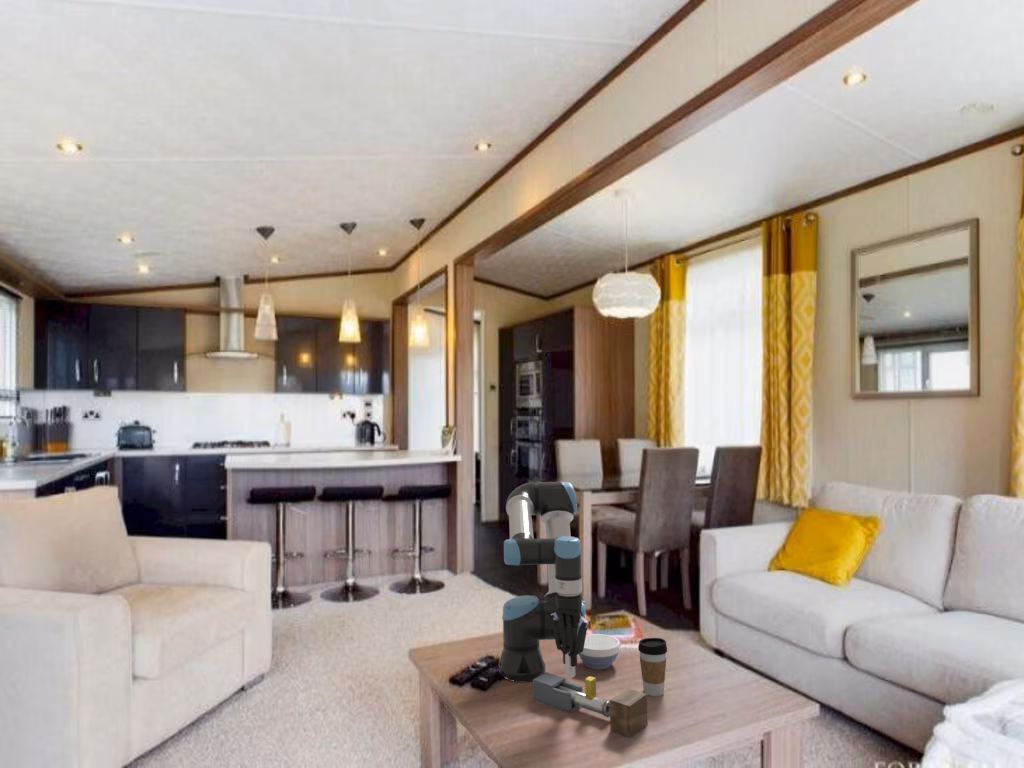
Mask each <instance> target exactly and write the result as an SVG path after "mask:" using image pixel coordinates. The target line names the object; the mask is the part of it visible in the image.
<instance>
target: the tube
mask: <svg viewBox="0 0 1024 768" xmlns="http://www.w3.org/2000/svg"><path fill="white" fill-rule="evenodd" d="M554 688H557V689H560V690H563V691H566V692H569V693H571V704H573V705H576V706H579V707H578V708H582V709H585V710H588V711H590V712H594V713H597V714H599V715H602V716H604V717H606V718H610V700H605V699H602V698H599V697H597V678H596V677H594V676H590V675H589V676H587V677H586V678H584V688H585V689H584V693H581V692H578V691H575V690H572V689H569V688H566V687H562V686H559V685H557V686H556V687H554Z"/></svg>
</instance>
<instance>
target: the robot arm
mask: <svg viewBox="0 0 1024 768" xmlns="http://www.w3.org/2000/svg"><path fill="white" fill-rule="evenodd" d="M575 491H576V490H575V488H574V486H573V484H572V483H571V482H568V481H561V480H560V481H547V482H546V481H545V482H543V481H542V482H541V481H540V482H539V481H537V482H534V481H533V482H531V481H530V482H526V483H524V484H523V483H522V484H521V485H519V486H517V487H516V488H515V489H514V490H512V491H511V493H509V495H508V497H507V500H506V501H505V502H506V504H505V512H506V514H507V515H508V520H509V539H505V540H504V541H503V562H504V563H505V565H509V566H526V565H527V566H528V565H529V566H530V565H533V566H534V565H547V580H548V592H547V593H546V594H545V595H544V601H540V599H539V598H538V597H537V595H518V596H515V597H512V598H510V599H508V600H507V601H506V602H505V603H504V604H503V607H502V616H501V618H502V625H503V626H502V636H503V637H502V639H503V640H502V641H503V642H502V644H503V647H502V648H503V649H502V652H501V655H500V659H499V662H498V666H499V668H500V669H501V670H502V671H503V672H504V673H505V674H506V677H507V678H508V679H510V680H514V681H513V682H516V681H527V682H533V679H535V678H537V677H539V676H541V675H543V674H544V673H546V663H545V661H544V657H543V655H542V651H541V647H540V641H541V640H543V641H546V640H554V642H555V645H556V649H557V650H558V651H561V652H562V658H563V659H562V663H563V665H564V670H565V679H568V680H571V679H573V678H574V677H576V666H577V665H578V656H579V654H580V653H581V652H583V648H584V643H585V638H586V635H587V632H588V627H589V626H590V625H591V620H590V619H586V601H585V600H583V594H582V591H583V586H582V584H583V583H582V580H583V579H582V546H581V540H580V539H579V537H575V536H571V533H572V532H571V522H572V521H573V520H574V518H575V517H574V516H575V515H576V514H577V513H578V504H577V496H576V492H575ZM532 516H540V521H541V522H542V523H543V524H544V525H545V526H544V527H545V538H534V528H533V518H532ZM498 666H497V667H498ZM510 680H509V681H510Z"/></svg>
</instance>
